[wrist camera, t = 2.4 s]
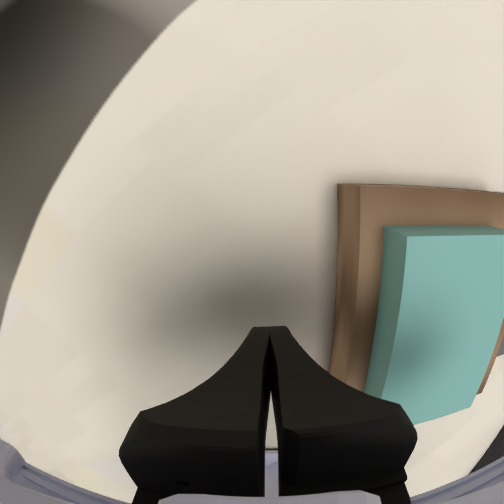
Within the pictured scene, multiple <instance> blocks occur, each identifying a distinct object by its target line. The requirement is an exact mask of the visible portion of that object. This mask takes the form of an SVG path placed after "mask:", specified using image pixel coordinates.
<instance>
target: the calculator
mask: <svg viewBox="0 0 504 504" xmlns="http://www.w3.org/2000/svg"><path fill="white" fill-rule="evenodd" d="M503 456H504V426H503V427H502V429H501V430H500V432H499V433H498V435H497V436H496V438H495V439H494V441H493V442H492V444H491V445H490V447H489V448H488V450H487V451H486V453H485V454H484V456H483V457H482V458H481V460H480V461H479V463H478V464H477V466H476V467H475V468H474V470H473V471H472V472H471V473H473V472H475V471H477V470H479V469H481V468H483V467H485V466H487V465H489V464H491V463H493V462H494V461H496V460H498V459H500V458H502V457H503ZM471 473H469V474H471ZM469 474H468V475H469Z"/></svg>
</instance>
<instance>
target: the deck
mask: <svg viewBox="0 0 504 504" xmlns="http://www.w3.org/2000/svg"><path fill="white" fill-rule="evenodd" d="M384 226H493V227H496V228H500V229H503V230H504V194H502V193H496V192H489V191H479V190H469V189H457V188H444V187H429V186H410V185H385V184H338V255H337V283H336V302H335V317H334V330H333V342H332V353H331V363H330V372H329V373H330V374H331V375H332V376H334V377H335V378H337V379H339V380H340V381H342V382H344V383H346V384H347V385H349V386H351V387H353V388H355V389H357V390H359V391H362V392H364V389H365V384H366V379H367V374H368V369H369V364H370V358H371V352H372V346H373V340H374V334H375V327H376V320H377V312H378V304H379V295H380V285H381V274H382V261H383V244H384ZM503 335H504V318H503V322H502V326H501V329H500V332H499V336H498V339H497V342H496V345H495V348H494V351H493V354H492V357H491V359H490V362H489V365H488V367H487V370H486V373H485V375H484V377H483V380H482V382H481V385H480V387H479V389H478V392H477V394H480V393H482V391H483V388H484V386H485V384H486V381H487V379H488V377H489V374H490V372H491V369H492V367H493V364H494V361H495V359H496V356H497V353H498V350H499V347H500V344H501V341H502V338H503ZM477 394H476V395H477Z"/></svg>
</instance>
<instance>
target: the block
mask: <svg viewBox="0 0 504 504" xmlns="http://www.w3.org/2000/svg"><path fill="white" fill-rule="evenodd" d="M503 318H504V230H503V229H500V228H496V227H493V226H384V244H383V261H382V274H381V285H380V295H379V304H378V312H377V320H376V327H375V334H374V340H373V346H372V352H371V358H370V364H369V369H368V374H367V379H366V384H365V389H364V393H366V394H369V395H371V396H374V397H377V398H380V399H384V400H387V401H391V402H394V403H398V404H400V405H401V406H402V408H403V409H404V411H405V412H406V414H407V415H408V417H409V418H410V420H411V422H412V424H413V425H415V424H418V423H422V422H426V421H429V420H433V419H436V418H439V417H442V416H446V415H449V414H452V413H455V412H457V411H460V410H463V409H466V408H469V407H471V405H472V403H473V400H474V398H475V396H476V394H477V392H478V389H479V387H480V385H481V382H482V380H483V377H484V375H485V373H486V370H487V367H488V365H489V362H490V359H491V357H492V354H493V351H494V348H495V345H496V342H497V339H498V336H499V332H500V329H501V326H502V322H503Z"/></svg>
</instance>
